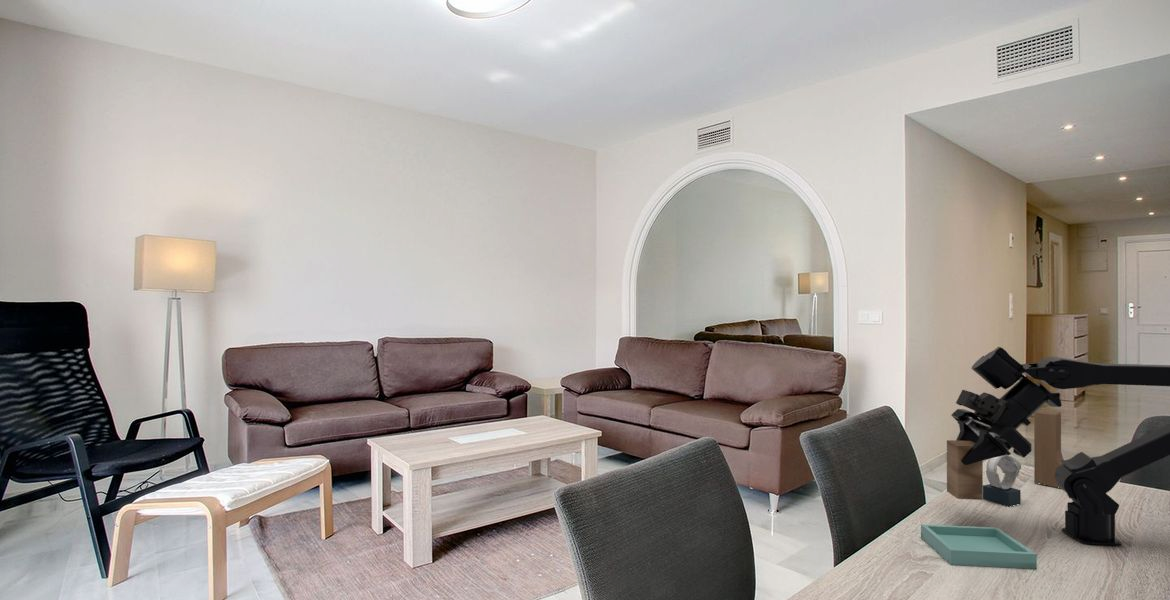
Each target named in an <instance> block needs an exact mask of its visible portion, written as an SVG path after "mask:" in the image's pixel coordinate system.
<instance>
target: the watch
mask: <svg viewBox="0 0 1170 600" xmlns="http://www.w3.org/2000/svg"><path fill="white" fill-rule="evenodd" d="M985 467H986V471H985V473H986V478H987V481H988V483H989V484H984V485H983V500H985V501H988V502H991V503H994V504H997V505H1000V504H1001V506H1004V505H1005V506H1004V507H1007V506H1008V508H1010V506H1011V507H1014V506H1013V505H1015V506H1018V505H1017V504H1019V505H1021V501H1022V500H1021V498H1022V497H1021V490H1020V489H1017V488H1014V487H1012V486H1013V485H1014V484H1015V482H1016V479H1017V478H1018V477H1019V474H1020V470H1021V469H1022V464H1021V462H1020V461H1019V459H1018V458H1017V457H1016V456H1014V455H1012V454H1010V455H1003V456H999V457H994V458H990V459H987V462H986V466H985ZM997 467H998V468H1000V470H1001V472H1002V473H1003V474H1004V476H1003V479H1002V480H1000V476H999V473H998V471H997V470H998V469H997Z"/></svg>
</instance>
